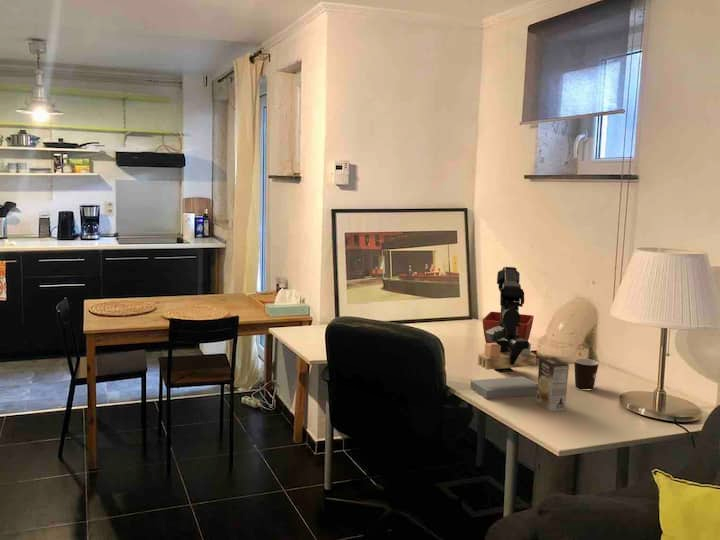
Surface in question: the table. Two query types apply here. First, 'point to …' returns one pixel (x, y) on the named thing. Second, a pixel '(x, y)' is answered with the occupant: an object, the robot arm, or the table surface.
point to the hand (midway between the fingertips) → (507, 362)
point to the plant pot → (522, 331)
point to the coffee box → (552, 384)
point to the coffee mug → (585, 373)
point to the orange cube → (492, 349)
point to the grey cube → (526, 351)
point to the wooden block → (506, 361)
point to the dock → (504, 387)
